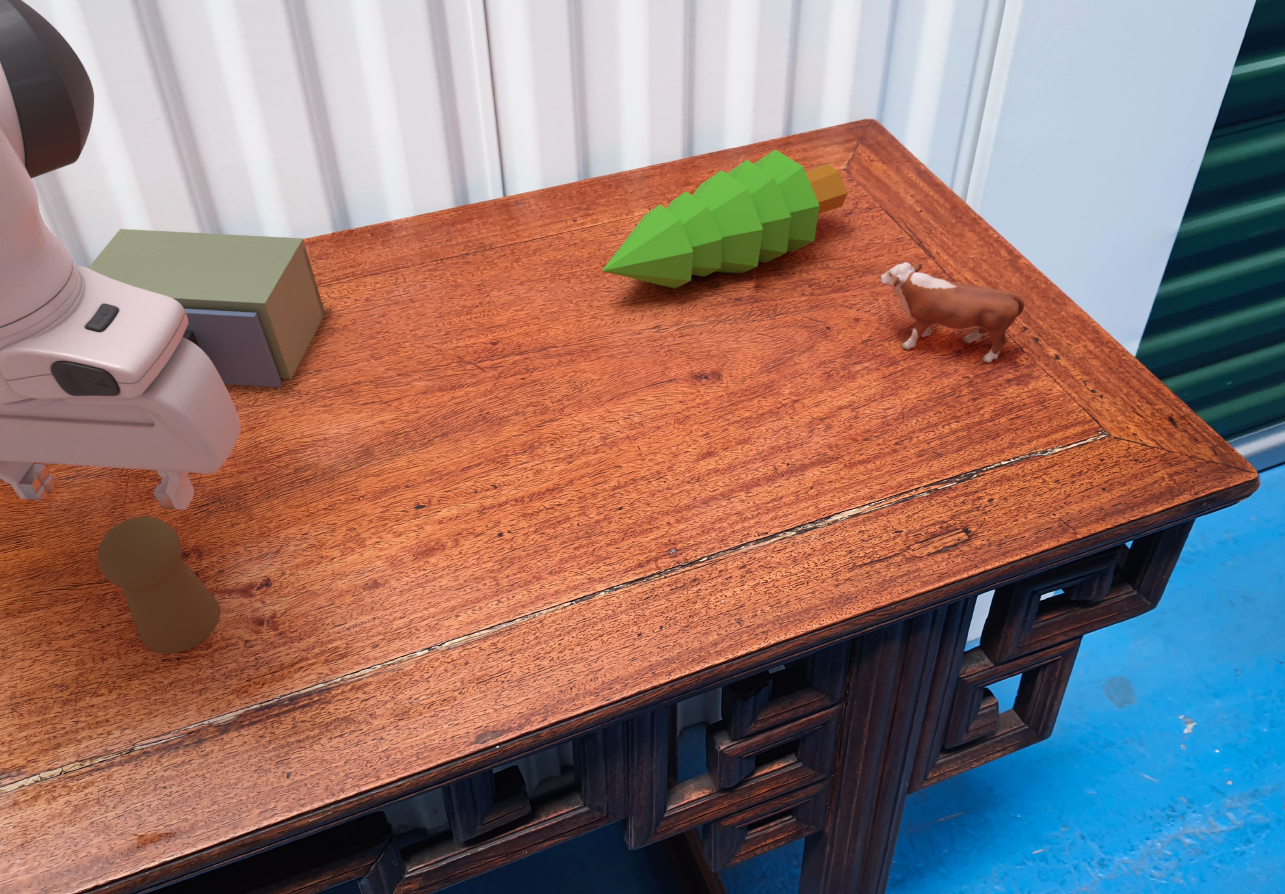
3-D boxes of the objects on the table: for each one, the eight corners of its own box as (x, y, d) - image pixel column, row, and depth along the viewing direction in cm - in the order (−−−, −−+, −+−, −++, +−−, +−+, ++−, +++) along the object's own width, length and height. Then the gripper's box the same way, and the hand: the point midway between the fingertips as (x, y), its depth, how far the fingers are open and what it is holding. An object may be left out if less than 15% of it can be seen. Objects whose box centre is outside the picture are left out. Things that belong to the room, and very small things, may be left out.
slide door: (175, 407, 90) (141, 335, 84) (193, 378, 93) (162, 307, 87) (266, 413, 90) (239, 341, 84) (282, 383, 93) (256, 312, 87)
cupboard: (104, 387, 94) (59, 302, 87) (157, 311, 102) (120, 228, 95) (288, 398, 93) (258, 313, 85) (327, 321, 101) (303, 238, 93)
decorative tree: (860, 133, 102) (619, 218, 89) (871, 241, 107) (644, 337, 94) (787, 132, 111) (559, 209, 98) (800, 232, 116) (584, 317, 103)
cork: (157, 678, 72) (96, 587, 64) (132, 622, 75) (72, 529, 67) (238, 636, 74) (189, 544, 66) (210, 583, 78) (161, 489, 70)
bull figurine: (873, 316, 101) (887, 248, 95) (1009, 345, 97) (1032, 276, 92) (864, 342, 98) (878, 274, 92) (1005, 373, 95) (1028, 304, 89)
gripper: (-208, 356, 53) (-71, 524, 63) (160, 377, 51) (241, 545, 61) (-133, 285, 57) (-16, 452, 67) (209, 302, 56) (277, 471, 65)
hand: (109, 497), depth 64 cm, fingers open, 8 cm apart
